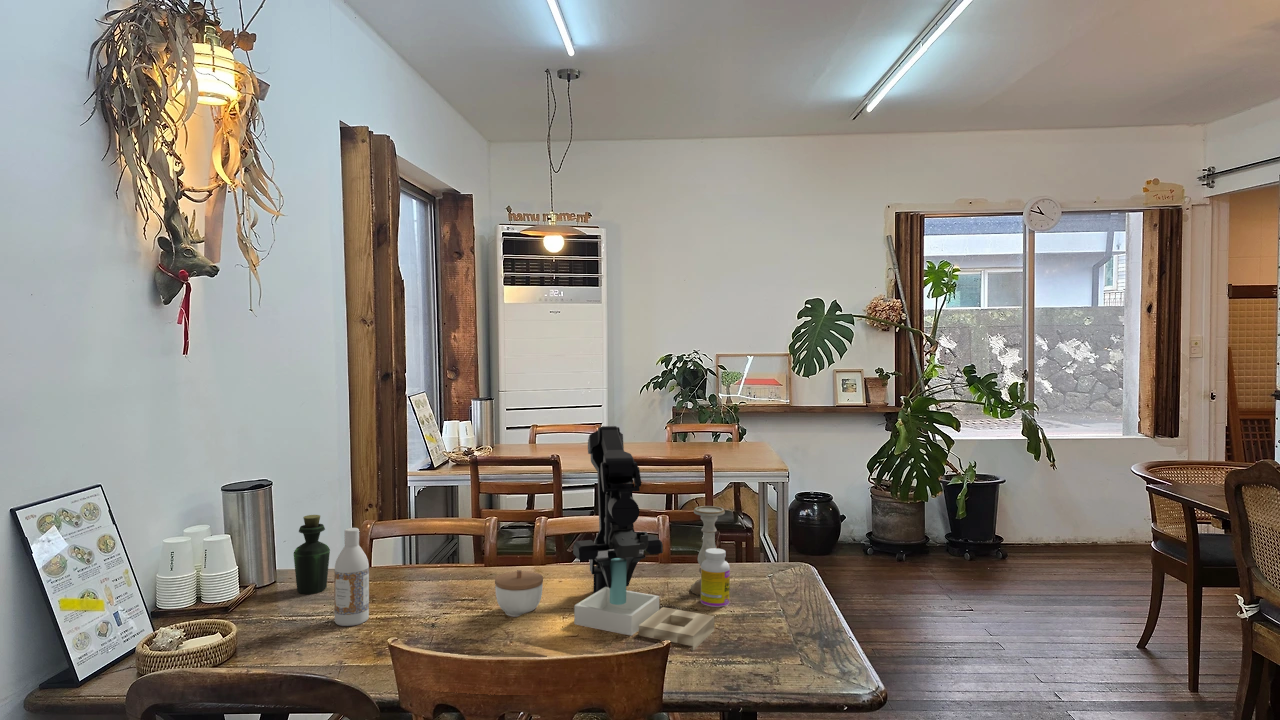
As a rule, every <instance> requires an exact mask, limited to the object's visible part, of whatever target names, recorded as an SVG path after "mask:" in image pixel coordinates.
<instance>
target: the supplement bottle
mask: <svg viewBox="0 0 1280 720" xmlns="http://www.w3.org/2000/svg"><path fill="white" fill-rule="evenodd" d="M705 556H706V560H705V561H703V562H702V564H701V566H700V568H701V573H700V579H701V596H700V603H701V604H702V605H704V606H707V607H713V608H715V607H716V608H719V607H720V608H721V607H726V606H728V605H730V584H731V583H730V577H731V575H730V570H731V567H730V563H728V561H727V560H725V559H726V550H725V549H723V548H719V547H718V548H717V547H716V548H711V549H707V550H706V552H705Z"/></svg>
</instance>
